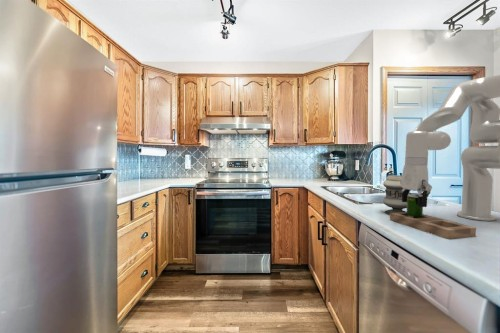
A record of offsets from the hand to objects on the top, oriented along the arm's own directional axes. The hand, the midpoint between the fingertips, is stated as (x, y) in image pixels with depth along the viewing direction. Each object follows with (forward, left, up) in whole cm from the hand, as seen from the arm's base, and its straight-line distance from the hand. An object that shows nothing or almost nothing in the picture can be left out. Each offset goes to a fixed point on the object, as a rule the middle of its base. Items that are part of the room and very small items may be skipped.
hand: (413, 204), depth 98 cm
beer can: (0, 0, -8) cm, 8 cm away
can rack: (+4, +5, -8) cm, 10 cm away
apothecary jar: (-15, -5, -8) cm, 18 cm away
